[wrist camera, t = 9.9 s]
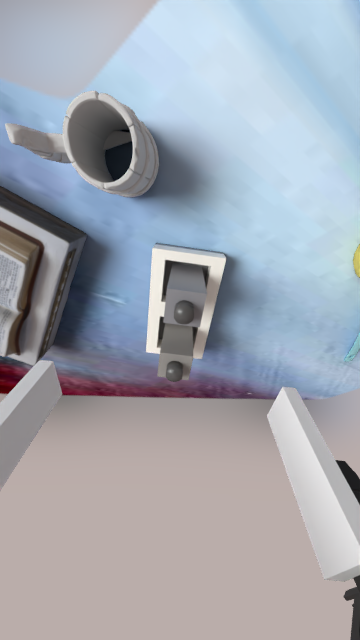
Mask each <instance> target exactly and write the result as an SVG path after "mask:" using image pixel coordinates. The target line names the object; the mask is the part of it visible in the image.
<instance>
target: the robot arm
mask: <svg viewBox="0 0 360 640" xmlns="http://www.w3.org/2000/svg"><path fill="white" fill-rule="evenodd" d="M61 395H62V391H61V388H60V384H59V380H58V377H57V373H56V370H55V366H54V362H53V361H44V360H39V361H38V362H37V363H36V364H35V365H34V367H33V368H32V369H31V370H30V371H29V372H28V373H27V374H26V375H25V376H24V378H23V379H22V380H21V381H20V382H19V383H18V384H17V385H16V386H15V387H14V388H13V390H12V391H11V392H10V393H9V394H8V395H7V396H6V397H5V398H4V399H3V401H2V402H1V403H0V490H1V489H2V487H3V486H4V484H5V483H6V481H7V479H8V478H9V476H10V475H11V473H12V472H13V470H14V469H15V467H16V465H17V464H18V462H19V461H20V459H21V458H22V456H23V455H24V453H25V451H26V450H27V448H28V447H29V445H30V444H31V442H32V441H33V439H34V437H35V436H36V434H37V433H38V431H39V429H40V428H41V426H42V425H43V423H44V422H45V420H46V419H47V417H48V416H49V414H50V412H51V411H52V409H53V408H54V406H55V405H56V403H57V401H58V400H59V398H60V397H61ZM267 417H268V420H269V423H270V426H271V429H272V432H273V435H274V437H275V440H276V443H277V446H278V449H279V452H280V455H281V458H282V460H283V463H284V466H285V469H286V472H287V475H288V478H289V480H290V483H291V486H292V489H293V492H294V495H295V497H296V500H297V503H298V506H299V509H300V512H301V515H302V518H303V520H304V523H305V526H306V529H307V532H308V535H309V538H310V540H311V543H312V546H313V549H314V552H315V555H316V558H317V561H318V563H319V566H320V569H321V572H322V575H323V578H324V580H334V581H347V580H350V579H352V578H354V581H355V583H356V585H357V587H355V588H352V589H349V590H348V591H346V592H345V595H344V598H345V599H346V600H347V601H348V600H352V599H354V604H353V605H352V606H353V607H354V608H353V618H352V630H351V640H360V479H359V477H358V476H357V474H356V473H355V472H354V471H353V470H352V469H351V468H350V467H349V466H348V464H347V463H346V462H345V461H338V460H335V459H334V457H333V455H332V454H331V452H330V450H329V448H328V446H327V444H326V443H325V441H324V439H323V437H322V435H321V434H320V432H319V430H318V428H317V426H316V424H315V423H314V421H313V419H312V417H311V415H310V413H309V412H308V410H307V408H306V406H305V405H304V402H303V401H302V399H301V397H300V395H299V393H298V392H297V390H296V388H289V387H282V389H281V391H280V393H279V394H278V396H277V398H276V400H275V402H274V404H273V406H272V408H271V409H270V411H269V413H268V415H267Z"/></svg>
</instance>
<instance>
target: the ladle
mask: <svg viewBox="0 0 360 640" xmlns="http://www.w3.org/2000/svg"><path fill="white" fill-rule="evenodd" d="M353 263H354V269H355V273H356V274H357V275H358V277H359V278H360V245H359V246H358V248H357V250H356V252H355V254H354V259H353ZM359 350H360V332H359V334H358V337H357V339H356V341H355V343H354V345H353V346H352V348H351V350H350V351H349V353H348V355H347V356H346V358H345V359H344V361H346V362H348V361H352V360H353V358H354V357H355V355H356V354H357V353H358V351H359ZM351 355H352V356H351ZM349 356H350V357H349Z"/></svg>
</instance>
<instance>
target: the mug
mask: <svg viewBox="0 0 360 640" xmlns="http://www.w3.org/2000/svg"><path fill="white" fill-rule="evenodd" d="M66 114H67V115H68V116H65V118H64V122H63V134H55V133H43V132H40V131H37V130H34V129H31V128H28V127H25V126H21V125H17V124H9V123H7V124H5V126H6V130H7V133H8V136H9V139H10V141H11V142H12V143H13V144H15V145H20V146H23V147H25V148H27V149H28V150H30V151H32V152H33V153H34V154H37V155H39V156H40V157H41V158H44V159H47V160H52V161H56V162H61V163H72V165H73V167H75V169H76V171H77V172H78V173H79V175H80V176H81V177H82V178H83V179H84V180H86V181H87V182H88V183H90V184H91V185H93V186H95V187H97V188H98V189H100V190H103V191H105V192H108V193H111V194H118V195H120V196H124V197H137V196H141V195H143V194H144V193H145V192H146V191H148V190H149V189H150V187H151V186H152V185H153V183H154V181H155V179H156V176H157V173H158V168H159V156H158V150H157V146H156V143H155V141H154V138H153V136H152V135H151V133H150V132H149V130H148V129H147V128H146V126H145V124H144V123H143V122H140V121H139V120H138V118H137V117H136V115H135V113H134V111H133V110H132V109H130V108H129V107H127V106H126V105H123V104H122V103H120V102H118V101H117V100H116V99H115V98H113V97H112V96H110V95H108V94H106V93H98V92H96V91H88V92H84V93H82V94H81V95H79V96H77V97H76V98H75V99H74V100H73V101H72V102H71V103H70V105H69V107H68V109H67V111H66ZM128 129H129V130H130V133H127V132H122V131H120V130H128ZM130 141H132V143H133V155H132V161H131V164H130V168H129V169H128V170H127V172H126V173H125V174H124V175H123V176H122V177H121V178H120V179H118V180H116V181H114V180H113V178H112V177H111V175H110V174H109V171H108V169H107V166H106V162H105V150H107V149H110V148H113V147H115V146H118V145H121V144H124V143H127V142H130Z"/></svg>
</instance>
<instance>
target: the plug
mask: <svg viewBox="0 0 360 640" xmlns="http://www.w3.org/2000/svg"><path fill="white" fill-rule="evenodd" d="M206 296H207V291H206V286H205V281H204V276H203V270H202V267H199V266H191V265H184V264H177V263H173V264H172V268H171V273H170V277H169V281H168V286H167V292H166V301H165V311H164V320H163V323H169V324H177V325H185V326H192V327H200V324H201V320H202V315H203V310H204V306H205V301H206Z"/></svg>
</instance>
